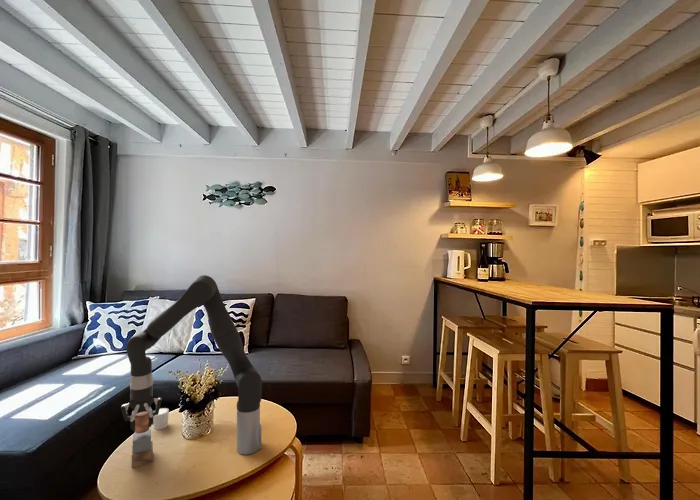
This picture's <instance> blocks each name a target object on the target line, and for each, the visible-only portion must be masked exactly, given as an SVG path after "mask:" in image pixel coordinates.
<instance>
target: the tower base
mask: <svg viewBox="0 0 700 500" xmlns="http://www.w3.org/2000/svg"><path fill="white" fill-rule="evenodd" d="M152 463H154V443H153V440H151V450H147V451H143V452H139V453H135V454H133V445H131V468H136V466H137V467H139V466H140V465H141V466H144V465H148V464H152ZM141 466H140V467H141Z"/></svg>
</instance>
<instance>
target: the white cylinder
mask: <svg viewBox="0 0 700 500" xmlns="http://www.w3.org/2000/svg"><path fill="white" fill-rule="evenodd" d="M169 413H170V409H169V408H168V407H167V408H166V407H164V408H163V407H160V409H159V413H158V415H155V416H154V417H153V429H154V430H157V431H158V430H163V429H165V428H167V427H168V426H169V425H168V424H169Z"/></svg>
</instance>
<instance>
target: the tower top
mask: <svg viewBox="0 0 700 500" xmlns="http://www.w3.org/2000/svg"><path fill="white" fill-rule="evenodd" d="M151 441H152V430H151V429H149V430H148V431H146V432H144V433H135V432H134V433H133V434H132V446H133V454H135V453H139V452H143V451H147V450H151Z"/></svg>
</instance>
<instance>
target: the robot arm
mask: <svg viewBox="0 0 700 500" xmlns="http://www.w3.org/2000/svg"><path fill="white" fill-rule="evenodd" d="M202 305H203V307H204V309H205V311H206V316H207V319H208V325H209V330H210V332H211V336H212V338H213V340H214V342H215V344H216V347H217V348H218V349H219V351H220V353H221V354H222V355H223V357H224V358H225V359H226V361H227V363H228V365H229V366H230V370H231V372H232V375H233V378H234V381H235V383H236V386H237V389H238V390H237V391H238V392H237V393H238V394H237V395H238V397H237V398H238V399H237V402H236V452H237V453H239V454H240V455H246V456H247V455H252V454H254V453H256V452H258V451H259V450H262V424H261V401H262V392H263V391H262V388H263V387H262V385H263V384H262V376H261V374H260V373H259V372H258V371H257V369H256V368H255V367H254V365H253V364H252V363H251V361H250V359H249V358H248V356H247V354H246V351H245V348H244V344H243V341H242V338H241V335H240V333H239V330H238V329H237V327H236V325H235V323H234V321H233V319H232V317H231V315H230V313H229V311H228V309H227V307H226V306H225V304H224V301H223V299H222V295H221V293H220V290H219V287H218V284H217V283H216V281H215V280H214V278H213V277H211V276H210V275H207V274H202V275H199V276H198V277H197V278H195V279H194V280H193V281H192V282H191V283H190V284H189V286H188V287H187V288H186V290H185V291H184V293H183V294H182V295H181V296H180V297H179V298H178V300H176V301H175V302H174V303H172V305H170V306H169V307H168V308H166V309H164V310H163V311H162V312H161V313H160V314H158V315H157V316H156V317H155V318H154V319H153V320H151V321H150V322H149V323H148V325H147V326H146V328H145V329H144V330H142V331H141V332H140V333H138V334H136V335H133V336H131V337H130V338H129V339H128V340H127V343H126V347H125V348H126V353H127V354H126V355H127V357H128V361H129V364H130V379H129V399H130V400H129V402H128V403H122V404H121V406H120V410H121V413H122V418H123V420H124V422H129V425H130V430H132V431H133V432H135V416H136V414H137V413H140V412H147V413H148V414H149V428H151V427H152V425H153V417H154V416H155V415H158V413H159V409H160V408H161V405H162V397H161V396H160V397H158V398H155V397H154V395H153V394H154V390H153V385H154V381H153V379H154V377H153V372H152V371H153V369H152V368H153V367H152V366H153V365H152V364H153V363H152V362H153V361H152V359H151V357H149V356H147V353H146V351H147V350H149V349H151V348H152V347H154V346H155V345H156V344H157V343H158V342H159V340H160V339H161V338H162V337H163V336H165V335H166V334H167V333H168V332H169V331H171V330H172V329H173V328H174V327H175V326H176V325H178V323H180V322H181V320H183V318H184V317H186V316H187V315H188V314H189V313H191V312H193V311H194V310H195V309H197V308H199V307H200V306H202ZM153 404H155V408H154V410H153V409H152V407H151V406H152V405H153ZM129 407H130V408H131V410H132V412H131V415H129V413H128V410H129ZM153 426H154V425H153Z"/></svg>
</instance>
